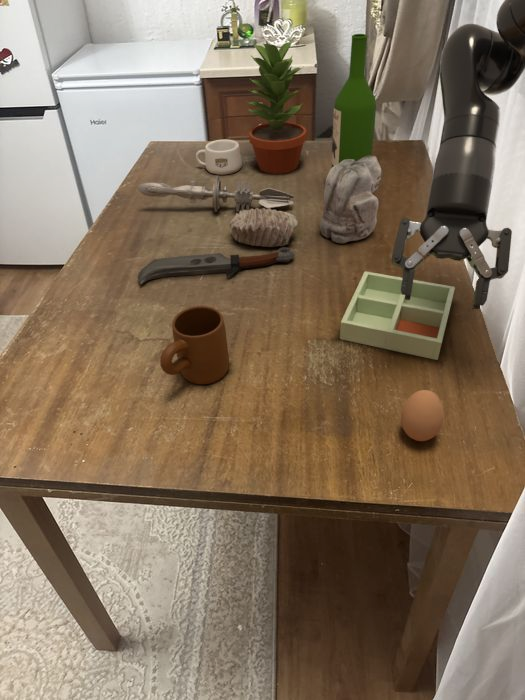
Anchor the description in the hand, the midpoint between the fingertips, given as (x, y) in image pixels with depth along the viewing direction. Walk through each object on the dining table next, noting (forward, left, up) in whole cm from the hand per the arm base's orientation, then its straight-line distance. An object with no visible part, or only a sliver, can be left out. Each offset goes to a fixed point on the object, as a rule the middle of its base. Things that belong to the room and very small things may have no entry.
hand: (441, 303), depth 69 cm
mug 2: (+63, -62, -14) cm, 90 cm away
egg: (-1, +11, -14) cm, 18 cm away
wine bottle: (+27, -58, -14) cm, 66 cm away
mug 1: (+32, +11, -14) cm, 37 cm away
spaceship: (+53, -40, -14) cm, 68 cm away
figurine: (+22, -39, -14) cm, 47 cm away
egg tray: (+7, -13, -14) cm, 20 cm away
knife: (+42, -17, -14) cm, 48 cm away
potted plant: (+49, -68, -14) cm, 85 cm away
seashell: (+38, -31, -14) cm, 51 cm away
